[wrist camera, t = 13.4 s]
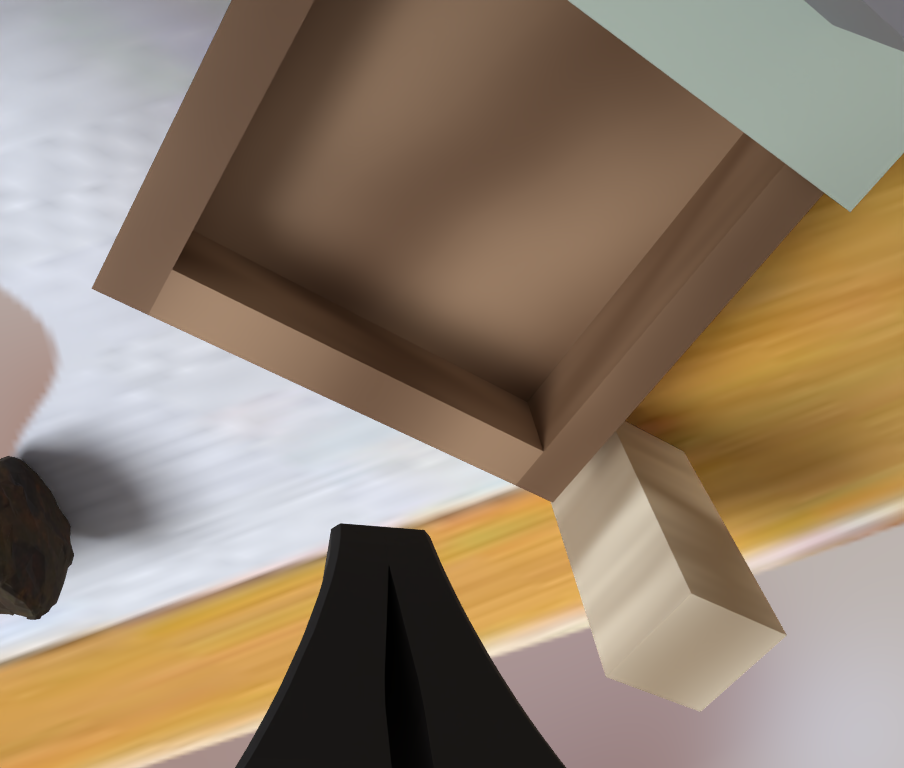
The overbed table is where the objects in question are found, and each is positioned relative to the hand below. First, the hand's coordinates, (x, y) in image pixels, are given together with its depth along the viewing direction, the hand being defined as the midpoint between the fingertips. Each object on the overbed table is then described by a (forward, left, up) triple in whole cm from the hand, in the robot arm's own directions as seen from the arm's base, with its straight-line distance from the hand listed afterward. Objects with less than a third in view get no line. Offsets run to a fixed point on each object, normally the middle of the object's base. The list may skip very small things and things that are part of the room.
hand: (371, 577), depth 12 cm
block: (+10, -2, -10) cm, 14 cm away
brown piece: (+1, +6, -10) cm, 12 cm away
